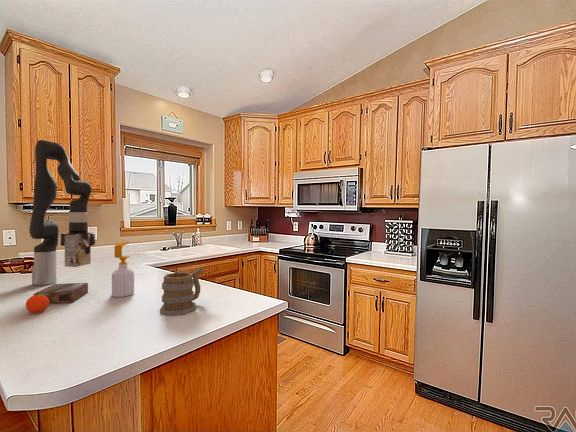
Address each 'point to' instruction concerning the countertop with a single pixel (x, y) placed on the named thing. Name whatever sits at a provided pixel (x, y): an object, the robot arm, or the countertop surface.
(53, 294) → the dock
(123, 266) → the soap bottle
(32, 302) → the clementine
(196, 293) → the tankard
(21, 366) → the countertop surface
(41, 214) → the robot arm
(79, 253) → the coffee box
